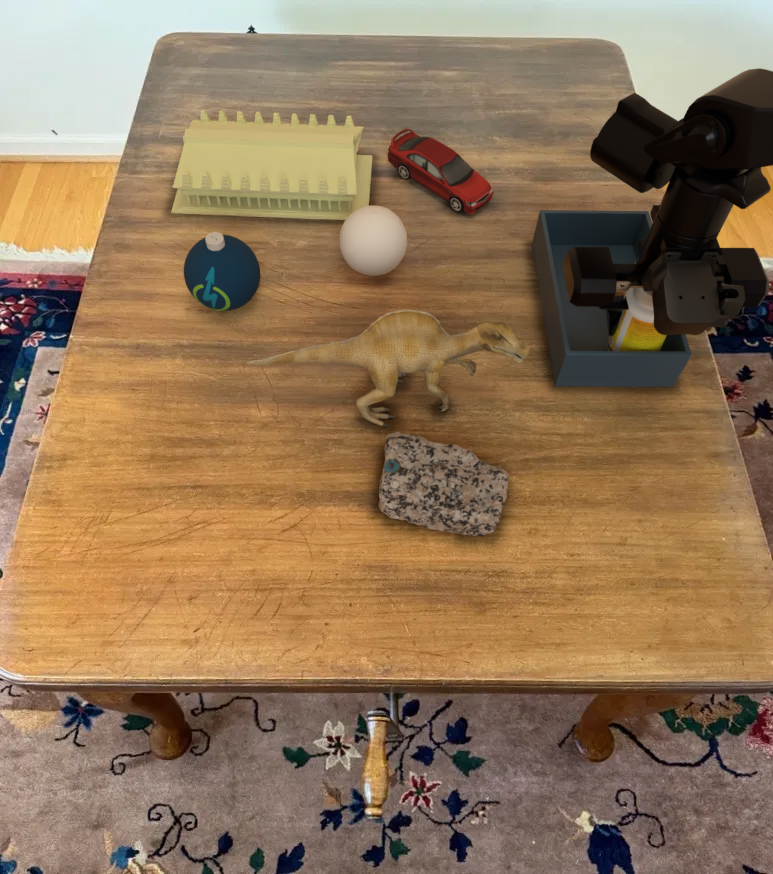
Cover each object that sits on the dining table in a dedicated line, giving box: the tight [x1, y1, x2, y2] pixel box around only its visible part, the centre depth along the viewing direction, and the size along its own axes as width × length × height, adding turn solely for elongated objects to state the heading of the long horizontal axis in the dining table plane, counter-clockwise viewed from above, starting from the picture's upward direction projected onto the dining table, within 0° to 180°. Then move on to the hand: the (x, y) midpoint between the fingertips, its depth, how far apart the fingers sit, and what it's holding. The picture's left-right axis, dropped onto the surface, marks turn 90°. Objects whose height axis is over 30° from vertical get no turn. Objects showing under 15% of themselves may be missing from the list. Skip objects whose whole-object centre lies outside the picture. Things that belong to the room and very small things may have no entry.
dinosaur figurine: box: [246, 308, 530, 428], centre depth 74 cm, size 8×26×13 cm, turn 97°
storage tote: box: [531, 209, 692, 388], centre depth 85 cm, size 22×13×6 cm, turn 1°
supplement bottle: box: [607, 288, 667, 351], centre depth 77 cm, size 6×6×10 cm
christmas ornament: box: [183, 231, 261, 312], centre depth 83 cm, size 8×8×10 cm
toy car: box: [386, 128, 495, 215], centre depth 96 cm, size 6×15×5 cm, turn 44°
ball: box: [338, 205, 408, 277], centre depth 87 cm, size 8×8×8 cm
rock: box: [378, 431, 510, 537], centre depth 71 cm, size 13×9×4 cm
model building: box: [170, 109, 373, 221], centre depth 95 cm, size 25×14×7 cm, turn 88°
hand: (637, 333), depth 79 cm, fingers closed on supplement bottle, 6 cm apart
